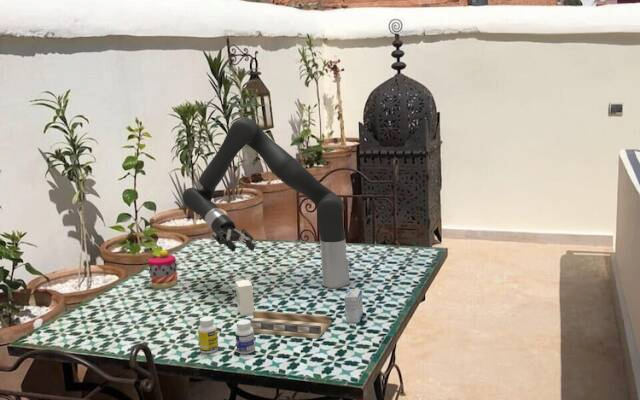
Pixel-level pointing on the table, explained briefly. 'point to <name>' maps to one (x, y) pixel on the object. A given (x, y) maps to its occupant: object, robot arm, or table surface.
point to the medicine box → (353, 306)
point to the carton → (244, 297)
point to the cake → (162, 269)
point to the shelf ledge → (289, 324)
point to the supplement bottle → (207, 335)
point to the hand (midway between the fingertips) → (244, 249)
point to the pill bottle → (244, 337)
